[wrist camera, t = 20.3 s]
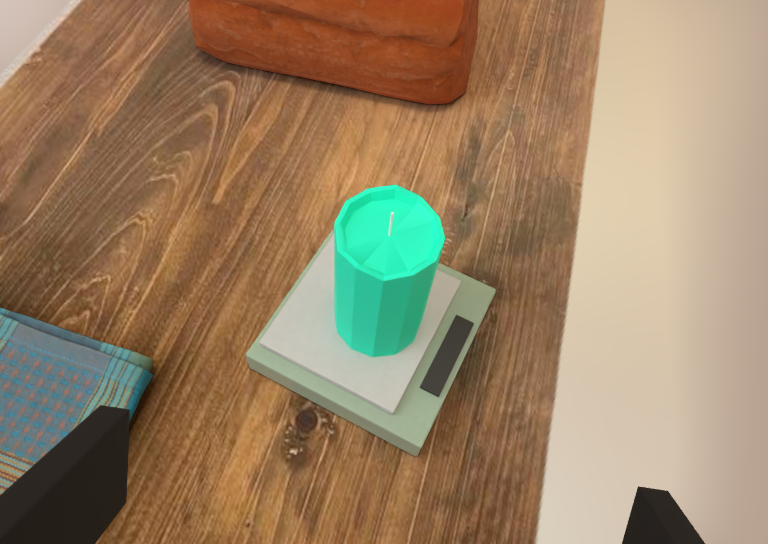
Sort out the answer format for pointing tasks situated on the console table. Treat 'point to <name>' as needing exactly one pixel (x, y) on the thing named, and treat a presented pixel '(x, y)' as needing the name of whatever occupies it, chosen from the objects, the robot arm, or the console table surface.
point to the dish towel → (56, 387)
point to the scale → (364, 373)
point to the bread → (348, 42)
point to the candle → (384, 268)
